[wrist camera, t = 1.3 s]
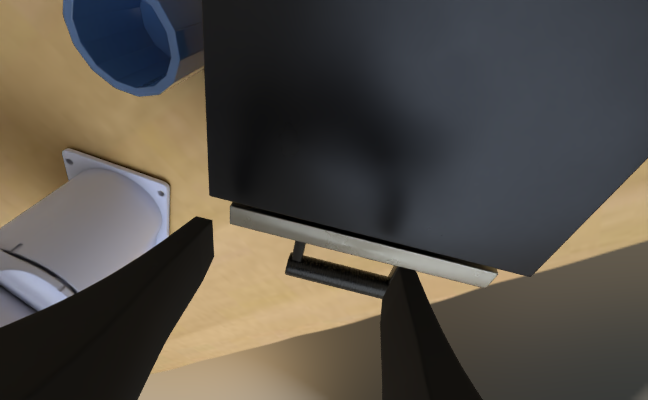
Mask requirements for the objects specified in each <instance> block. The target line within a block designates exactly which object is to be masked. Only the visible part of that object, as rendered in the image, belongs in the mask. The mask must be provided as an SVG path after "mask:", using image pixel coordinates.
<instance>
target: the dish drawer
mask: <svg viewBox="0 0 648 400" xmlns="http://www.w3.org/2000/svg"><path fill="white" fill-rule="evenodd" d="M230 224H233V225H237V226H241V227H245V228H248V229H252V230H256V231H260V232H264V233H268V234H272V235H276V236H280V237H284V238H288V239H292V240H295V245H294V250H293V253H290V256H289V259H288V262H287V266H286V271H285V274H286V275H289V276H293V277H297V278H301V279H305V280H309V281H313V282H317V283H321V284H325V285H329V286H333V287H337V288H341V289H345V290H349V291H353V292H357V293H361V294H365V295H369V296H373V297H376V298H380V299H382V298H383V296H384V294H385V292H386V290H387V288H388V287H389V285H390V283H391V281H392V279H393V277H394V275H395V273H396V271H397V269H398V268H399V266H400V267H404V268H408V269H412V270H415V271H418V272H422V273H426V274H430V275H434V276H438V277H442V278H446V279H450V280H454V281H458V282H462V283H466V284H470V285H474V286H478V287H481V288H487V286H488V285H489V284H490V283H491V282H492V281H493V279H494V278H495V277H496V276H497V275H498V272H497V269H496V268H493V267H489V266H485V265H481V264H477V263H473V262H469V261H465V260H461V259H457V258H453V257H449V256H445V255H441V254H437V253H433V252H429V251H425V250H422V249H418V248H414V247H410V246H406V245H402V244H398V243H394V242H390V241H386V240H382V239H378V238H374V237H370V236H366V235H362V234H358V233H354V232H351V231H347V230H343V229H339V228H335V227H331V226H327V225H323V224H319V223H315V222H311V221H307V220H303V219H299V218H295V217H291V216H287V215H283V214H279V213H276V212H272V211H268V210H264V209H260V208H256V207H252V206H248V205H244V204H240V203H236V202H232V204H231V206H230ZM306 243H308V244H312V245H316V246H320V247H324V248H327V249H331V250H335V251H339V252H343V253H347V254H351V255H355V256H359V257H363V258H367V259H371V260H375V261H379V262H383V263H387V264H391V265H394V267H393V269H392V270H391V272H390V274H389V276H388V277H387V276H383V275H379V274H375V273H371V272H367V271H363V270H359V269H355V268H351V267H348V266H344V265H340V264H336V263H332V262H328V261H324V260H320V259H316V258H312V257H308V256H304V255H303V253H304V249H305V245H306Z"/></svg>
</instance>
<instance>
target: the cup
mask: <svg viewBox="0 0 648 400" xmlns="http://www.w3.org/2000/svg"><path fill="white" fill-rule="evenodd" d="M63 17H64V20H65V23H66V25H67V28H68V31H69V34H70V37H71V39H72V42H73V44H74V46H75V47H76V49H77V50H78V51H79V53H80V54H81V55H82V57H83V58H84V60H85V61H86V62H87V64H88V65H89V66H90V68H91V69H92V70H93V71H94V72H95V73H97V74H98V75H99V76H100V77H102V78H103V79H104V80H105V81H107V82H108V83H109V84H110V85H112V86H113V87H115V88H116V89H119V90H122V91H124V92H127V93H130V94H133V95H135V96H139V97H140V96H152V95H159V94H162V93H163V92H165V91H167V90H168V89H170V88H172V87H174V86H175V85H177V84H179V83H181V82H182V81H184V80H186V79H187V78H189V77H191V76H193V75H194V74H196V73H198V72H199V71H201V70H203V69H204V46H203V21H202V0H63Z"/></svg>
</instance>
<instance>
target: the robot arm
mask: <svg viewBox="0 0 648 400" xmlns="http://www.w3.org/2000/svg"><path fill="white" fill-rule="evenodd" d="M62 156H63V160H64V164H65V168H66V172H67V176H68V180H69V181H68V182H67V183H65V184H64V185H62V186H61V187H59V188H58V189H56V190H55V191H54V192H52V193H51V194H49V195H48V196H46V197H45V198H43V199H42V200H40V201H39V202H38V203H36V204H35V205H33V206H32V207H30V208H29V209H27V210H26V211H24V212H23V213H22V214H20V215H19V216H17V217H16V218H14V219H13V220H11V221H10V222H8V223H7V224H6V225H4V226H3V227H1V228H0V400H138V397H139V396H140V393H141V391H142V389H143V387H144V385H145V383H146V381H147V379H148V377H149V374H150V372H151V370H152V368H153V366H154V364H155V362H156V360H157V358H158V356H159V354H160V352H161V350H162V348H163V346H164V344H165V342H166V341H167V339H168V337H169V335H170V333H171V332H172V330H173V328H174V327H175V325H176V324H177V322H178V320H179V319H180V317H181V316H182V314H183V312H184V311H185V309H186V307H187V306H188V304H189V303H190V301H191V299H192V298H193V296H194V294H195V293H196V291H197V289H198V288H199V286H200V285H201V283H202V281H203V279H204V277H205V275H206V273H207V271H208V269H209V266H210V264H211V262H212V260H213V257H214V246H213V225H212V220H209V219H205V218H201V217H195V218H193V219H192V220H190V221H189V222H188V223H186V224H185V225H184V226H182V227H181V228H180V229H178V230H177V231H176V232H174V233H173V234H171V235H170V236H169V216H170V186H169V185H168V184H167V183H166V182H164V181H162V180H159V179H156V178H153V177H150V176H148V175H145V174H142V173H139V172H136V171H133V170H130V169H128V168H125V167H122V166H119V165H116V164H113V163H111V162H108V161H105V160H102V159H99V158H96V157H93V156H91V155H88V154H85V153H82V152H79V151H76V150H73V149H70V148H67V149H65V150H63V151H62ZM380 330H381V360H382V400H483V399H482V398H481V396H480V395H479V393H478V392H477V390H476V389H475V387H474V386H473V384H472V382H471V381H470V379H469V378H468V376H467V374H466V373H465V371H464V370H463V368H462V366H461V364H460V363H459V361H458V359H457V357H456V356H455V354H454V352H453V350H452V348H451V346H450V345H449V343H448V341H447V339H446V337H445V335H444V333H443V331H442V329H441V327H440V325H439V323H438V321H437V319H436V316H435V314H434V312H433V310H432V308H431V306H430V303H429V301H428V299H427V296H426V294H425V292H424V289H423V287H422V285H421V282H420V280H419V277H418V275H417V273H416V271H415V270H412V269H408V268H404V267H400V266H399V268H398V269H397V271H396V273H395V275H394V277H393V279H392V281H391V283H390V285H389V287H388V288H387V290H386V292H385V294H384V296H383V298H382V309H381V322H380Z"/></svg>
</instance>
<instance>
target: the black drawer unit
mask: <svg viewBox="0 0 648 400" xmlns="http://www.w3.org/2000/svg"><path fill="white" fill-rule="evenodd" d="M202 21H203V46H204V71H205V96H206V121H207V146H208V171H209V195H210V196H212V197H216V198H220V199H224V200H228V201H232V202H236V203H240V204H244V205H248V206H252V207H256V208H260V209H264V210H268V211H272V212H276V213H279V214H283V215H287V216H291V217H295V218H299V219H303V220H307V221H311V222H315V223H319V224H323V225H327V226H331V227H335V228H339V229H343V230H347V231H351V232H354V233H358V234H362V235H366V236H370V237H374V238H378V239H382V240H386V241H390V242H394V243H398V244H402V245H406V246H410V247H414V248H418V249H422V250H425V251H429V252H433V253H437V254H441V255H445V256H449V257H453V258H457V259H461V260H465V261H469V262H473V263H477V264H481V265H485V266H489V267H493V268H497V269H500V270H504V271H508V272H512V273H516V274H520V275H524V276H528V277H531V276H532V275H533V274H534V273H535V272H536V271H537V270H538V269H539V268H540V267H541V266H542V265H543V264H544V263H545V262H546V261H547V260H548V259H549V258H550V257H551V256H552V255H553V254H554V253H555V252H556V251H557V250H558V249H559V248H560V247H561V246H562V245H563V244H564V243H565V242H566V241H567V240H568V239H569V238H570V237H571V235H572V234H573V233H574V232H575V231H576V230H577V229H578V228H579V227H580V226H581V225H582V224H583V223H584V222H585V221H586V220H587V219H588V218H589V217H590V216H591V215H592V214H593V213H594V212H595V211H596V210H597V209H598V208H599V207H600V206H601V205H602V204H603V203H604V202H605V201H606V200H607V199H608V198H609V197H610V196H611V195H612V194H613V193H614V192H615V191H616V190H617V189H618V188H619V187H620V186H621V185H622V184H623V183H624V182H625V181H626V180H627V179H628V178H629V177H630V176H631V175H632V174H633V173H634V172H635V171H636V170H637V169H638V168H639V166H640V165H641V164H642V163H643V162H644V161H645V160H646V159H647V158H648V0H202Z"/></svg>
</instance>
